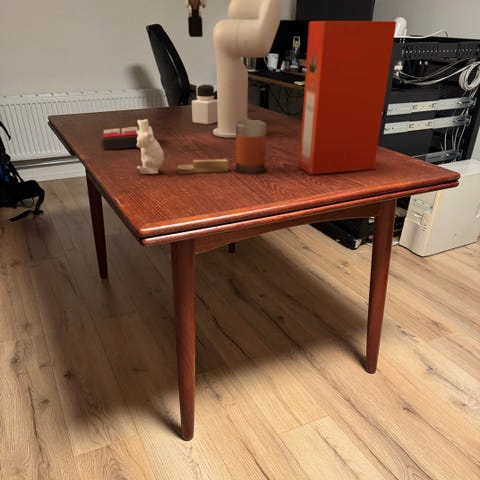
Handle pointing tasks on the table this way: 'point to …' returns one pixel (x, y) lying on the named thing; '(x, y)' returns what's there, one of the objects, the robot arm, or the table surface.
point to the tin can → (250, 146)
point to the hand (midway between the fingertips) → (195, 35)
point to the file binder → (344, 94)
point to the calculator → (121, 138)
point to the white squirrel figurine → (148, 149)
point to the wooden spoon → (204, 166)
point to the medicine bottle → (205, 106)
